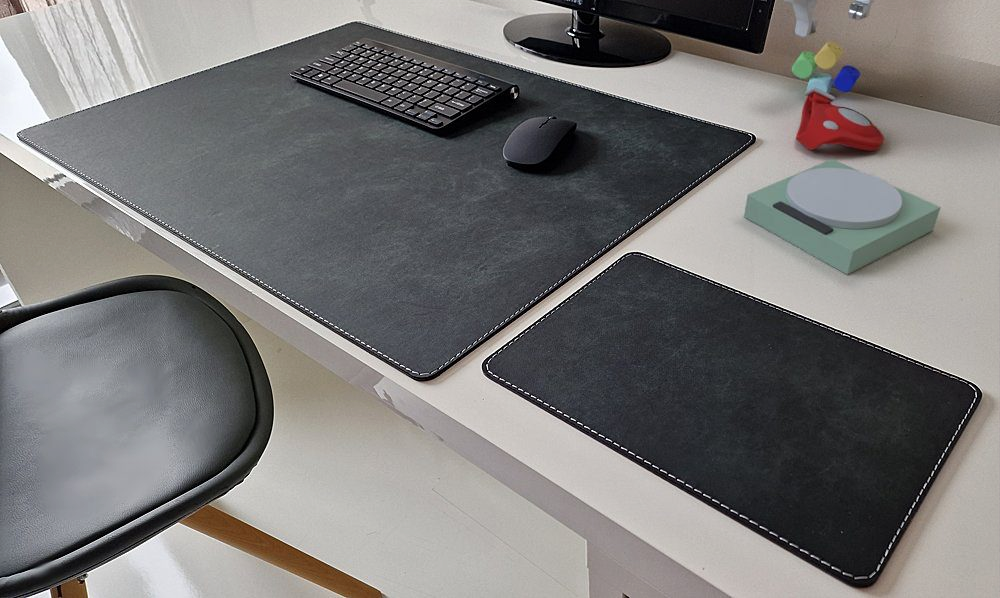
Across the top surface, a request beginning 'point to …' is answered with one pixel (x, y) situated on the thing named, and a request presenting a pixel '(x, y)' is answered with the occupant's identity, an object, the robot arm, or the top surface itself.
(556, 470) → the top surface
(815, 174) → the scale
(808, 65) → the dice
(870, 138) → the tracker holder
